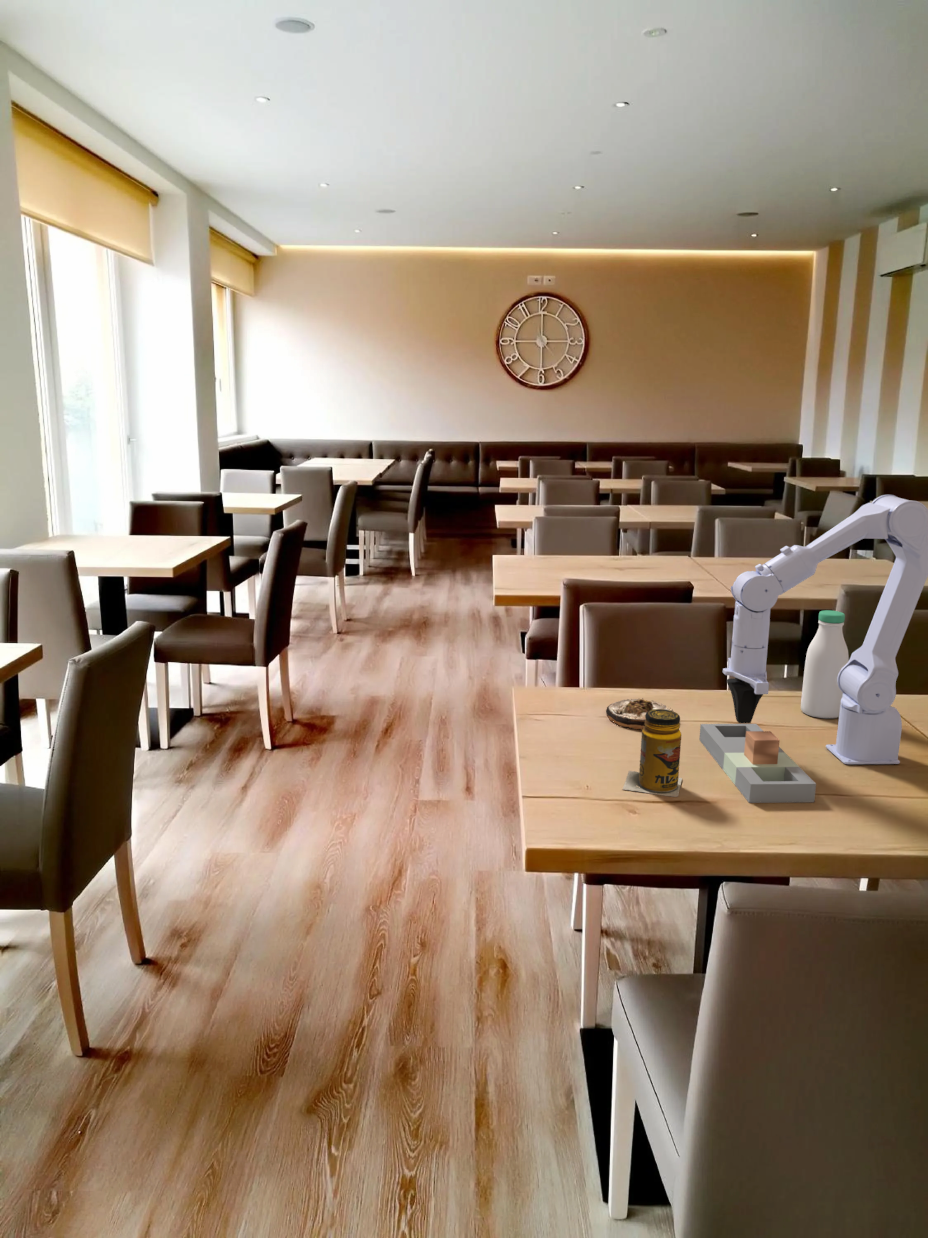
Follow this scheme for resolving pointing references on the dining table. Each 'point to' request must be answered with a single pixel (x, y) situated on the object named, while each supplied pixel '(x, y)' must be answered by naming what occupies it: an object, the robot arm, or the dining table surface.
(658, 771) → the condiment
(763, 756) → the block
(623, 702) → the plate of food
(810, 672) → the milk bottle
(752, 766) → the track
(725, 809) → the dining table surface
